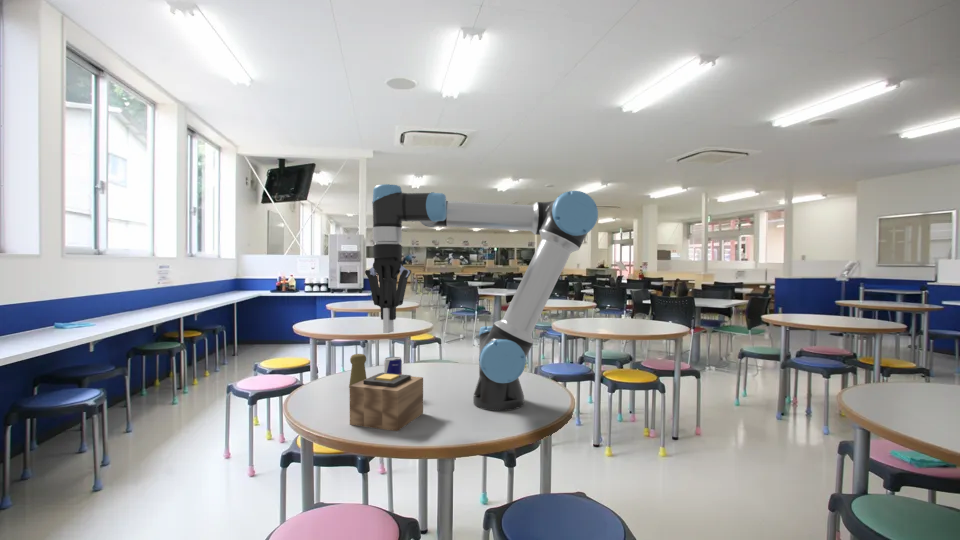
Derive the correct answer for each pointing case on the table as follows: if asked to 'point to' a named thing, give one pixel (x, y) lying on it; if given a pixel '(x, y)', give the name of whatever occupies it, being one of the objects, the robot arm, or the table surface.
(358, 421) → the socket block
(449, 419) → the table surface
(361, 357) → the cork
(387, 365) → the energy drink
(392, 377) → the peg
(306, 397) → the table surface
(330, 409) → the table surface
